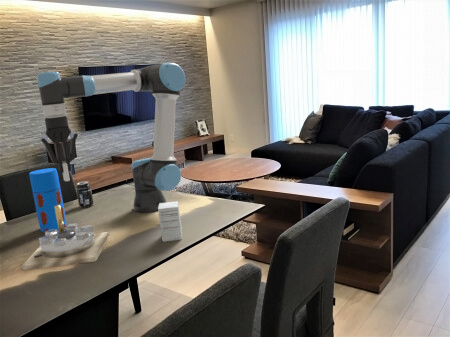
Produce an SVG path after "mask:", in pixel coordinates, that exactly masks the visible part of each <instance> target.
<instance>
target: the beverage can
mask: <svg viewBox="0 0 450 337" xmlns="http://www.w3.org/2000/svg"><path fill="white" fill-rule="evenodd" d="M75 190H76V196H77V200H78V205H79V207H80V208H84V209H85V208H90V207H92V206H93V204H94V200H93V199H94V198H93V194H92V193H93V192H92V186H91V183H89V181H88V180H87V181H80V182H77V183H76V186H75Z"/></svg>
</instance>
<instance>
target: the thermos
mask: <svg viewBox="0 0 450 337" xmlns="http://www.w3.org/2000/svg"><path fill="white" fill-rule="evenodd" d="M28 175H29V181H30V185H31V191H32V196H33V201H34V206H35V211H36V215H37V222H38V225H39V229H40V232H42V233H45V231H47V230H50V229H57V231H59V228H58V223H57V218H56V212H55V207H54V206H56V205H60V207H61V213H62V218H63V223H64V229H66V228H67V226H68V225H67V219H66V212H65V207H64V201H63V200H64V199H63V196H62V189H61V184H60V180H59V179H60V178H59V173H58V171H57V168H55V167H51V168H42V169H37V170H33V171H30V172H29V174H28Z"/></svg>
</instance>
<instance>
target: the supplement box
mask: <svg viewBox="0 0 450 337" xmlns="http://www.w3.org/2000/svg"><path fill="white" fill-rule="evenodd" d="M157 213H158V218H159V226H160V227H159V228H160V234H161V241H162V242H170V241H171V242H172V241H179V240H183V229H182V222H181V212H180V206H179V201H177V200H176V201H168V202H167V201H166V203H159V206H158V210H157Z"/></svg>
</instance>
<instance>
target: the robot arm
mask: <svg viewBox="0 0 450 337" xmlns="http://www.w3.org/2000/svg"><path fill="white" fill-rule="evenodd" d="M36 77H37V87H38V88H37V89H38V91H39V95H40V101H41V107H42V113H43V116H44V117H45V118H44V124H45V129H46V130H45V135H44V136H43V137H41V138H40V139H39V141H40V142H41V143H42V144H43V145H44V147H45V149H46V151H47V154H48V156H49V158H50V160H51V163H53V164H57V166H58V171H59V173H61V174H62V177H63V181H64V182H70V180H71V179H70V173H69V172H71V171H72V168H71V162H72V161H74V160H75V158H76V157H75V156H76V142H77V138H78V136H79V134H78V133H77V132H76V133H75V132H73V131H72V130H71V128H70V127H69V123H68V121H69V120H68V116H66V114H67V109H66V104H65V102H66V101H65V99H71V98H82V97H85V98H86V97H90V96H91V97H92V96H93V95H100V94H101V95H102V94H107V93H108V94H109V93H119V92H126V91H127V92H128V91H134V92H135V93H137V92H151V94H152V96H153V97H154V98H155V106H154V107H155V108H154V110H155V111H154V133H153V134H154V135H153V155H152V156H151V157H147V158H142V159H137V160H134V161H132V163H131V171H132V179H133V184H134V190H135V191H134V192H135V195H134V198H133V199H134V201H133V211H135V212H137V213H151V212H152V213H153V212H158V206H159V203H167V199H166V197H165V194H163V191H164V192H169V191H172V190H174V189H176V187H177V186H178V185H179V184H180V182H181V179H182V172H181V169H180V168H179V166H177V163H178V162H177V158H176V157H175V155H174V154H175V151H174V150H175V132H176V131H175V127H176V126H175V125H176V106H177V104H176V102H177V99H178V98H180V94H181V90H182V89H183V88H184V87H185V85H186V81H187V80H186V78H187V77H186V75H185V71H184V70H183V68H182V67H181V65H179V64H177V63H174V62H164V63H160V64H153V65H152V64H151V65H149V66H146V67H142V68H137V69H136V68H135V69H131V70H130V72H117V73H108V74H96V75H76V76H61V75H60V73H59V71H46V72H39V73H38V74H37V75H36ZM69 138H70V143H69V144H70V146H69V149H68V141H67V140H68V139H69ZM49 140H50V141H52V143H53V145H54V151H55V153H54V151H53V150H52V147H51V145H50V143H49ZM60 143H61V146H60ZM61 147H62V151H61ZM62 153H63V158H64V162H63V158H62Z"/></svg>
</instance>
